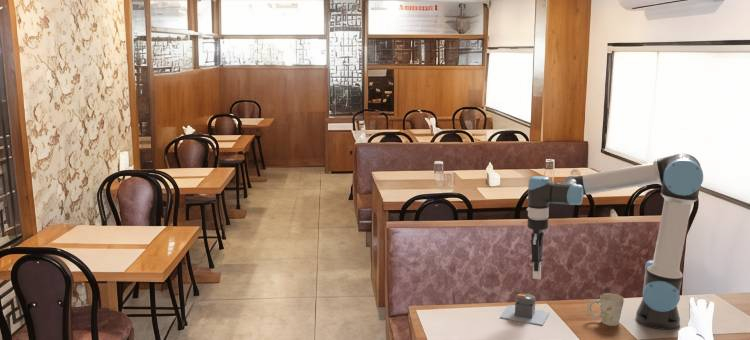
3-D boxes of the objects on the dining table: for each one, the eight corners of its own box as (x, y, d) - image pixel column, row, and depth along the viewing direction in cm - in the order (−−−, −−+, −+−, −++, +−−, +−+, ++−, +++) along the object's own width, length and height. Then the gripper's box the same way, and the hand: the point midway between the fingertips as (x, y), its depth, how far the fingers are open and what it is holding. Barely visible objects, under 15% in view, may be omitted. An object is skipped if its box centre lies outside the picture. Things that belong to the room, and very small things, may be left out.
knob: (535, 312, 253) (537, 294, 252) (532, 319, 247) (533, 300, 245) (517, 309, 256) (518, 291, 255) (513, 316, 250) (514, 297, 248)
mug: (623, 328, 241) (625, 302, 239) (587, 325, 243) (589, 299, 241) (620, 319, 249) (622, 294, 247) (585, 316, 251) (587, 291, 249)
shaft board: (549, 313, 254) (550, 300, 253) (542, 325, 242) (543, 312, 241) (508, 305, 261) (508, 293, 260) (499, 317, 249) (500, 305, 248)
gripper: (531, 213, 253) (530, 272, 257) (524, 221, 241) (523, 282, 245) (551, 214, 250) (549, 274, 254) (545, 222, 238) (543, 285, 242)
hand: (536, 278), depth 250 cm, fingers closed
